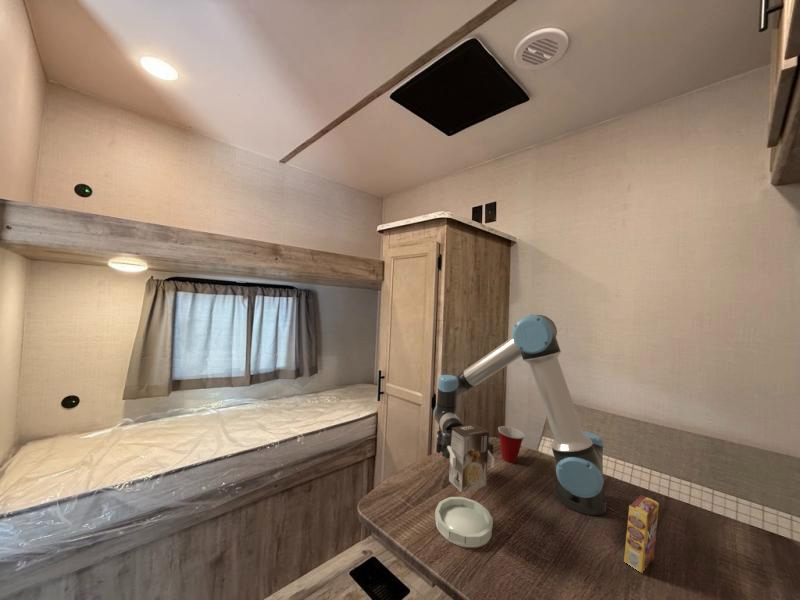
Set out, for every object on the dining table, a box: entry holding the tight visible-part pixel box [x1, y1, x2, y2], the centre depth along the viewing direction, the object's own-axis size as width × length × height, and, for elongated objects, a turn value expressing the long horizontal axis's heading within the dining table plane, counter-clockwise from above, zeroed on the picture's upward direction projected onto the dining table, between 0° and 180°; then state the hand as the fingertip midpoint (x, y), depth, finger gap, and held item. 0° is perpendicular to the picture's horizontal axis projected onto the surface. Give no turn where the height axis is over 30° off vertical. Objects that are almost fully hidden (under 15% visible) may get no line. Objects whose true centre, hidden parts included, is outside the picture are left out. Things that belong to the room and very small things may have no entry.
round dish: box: [434, 496, 494, 549], centre depth 88 cm, size 16×16×3 cm
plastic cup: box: [497, 425, 526, 464], centre depth 127 cm, size 11×11×12 cm
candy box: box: [623, 494, 660, 574], centre depth 79 cm, size 9×4×15 cm, turn 125°
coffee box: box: [448, 423, 490, 493], centre depth 89 cm, size 9×6×16 cm
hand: (473, 462), depth 85 cm, fingers closed on coffee box, 10 cm apart
